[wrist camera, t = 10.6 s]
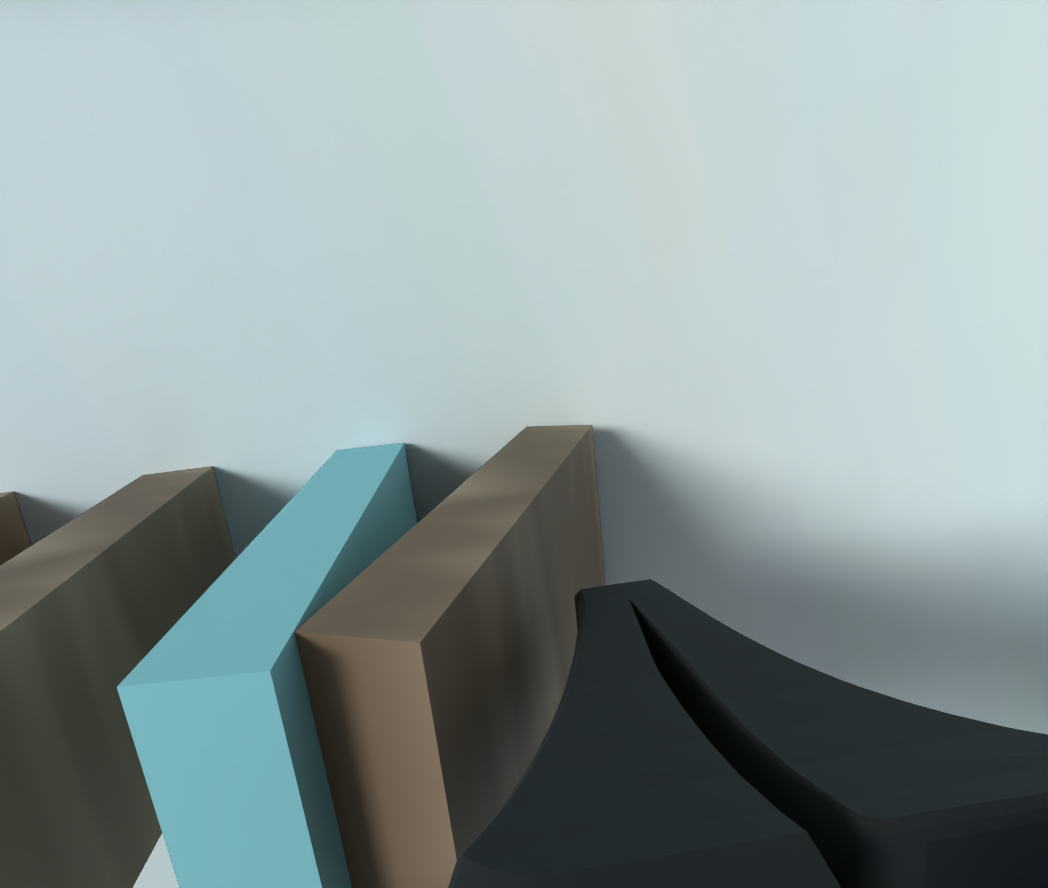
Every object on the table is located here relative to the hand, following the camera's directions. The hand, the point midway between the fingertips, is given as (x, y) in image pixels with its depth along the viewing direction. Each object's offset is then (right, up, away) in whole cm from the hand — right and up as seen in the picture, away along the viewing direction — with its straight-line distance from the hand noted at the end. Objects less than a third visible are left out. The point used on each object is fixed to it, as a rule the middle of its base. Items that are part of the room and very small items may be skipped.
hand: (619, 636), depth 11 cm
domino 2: (-5, +1, +5) cm, 7 cm away
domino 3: (-1, +1, +5) cm, 5 cm away
